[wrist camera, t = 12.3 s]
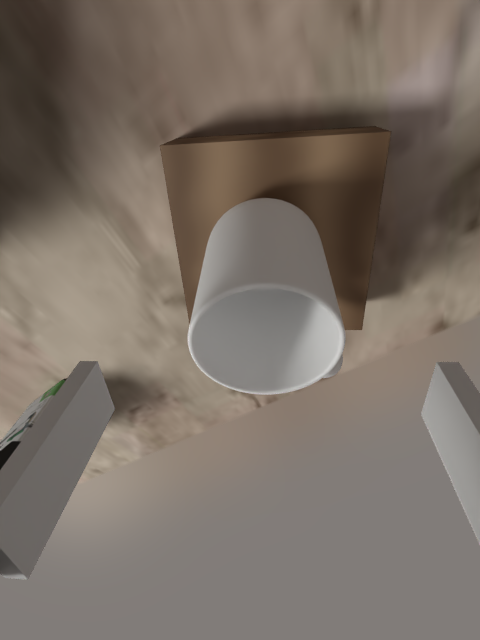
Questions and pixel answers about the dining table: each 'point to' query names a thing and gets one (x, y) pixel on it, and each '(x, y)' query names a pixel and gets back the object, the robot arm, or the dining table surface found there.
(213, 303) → the mug
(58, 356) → the dining table surface
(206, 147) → the walnut block
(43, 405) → the ink box
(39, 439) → the robot arm
